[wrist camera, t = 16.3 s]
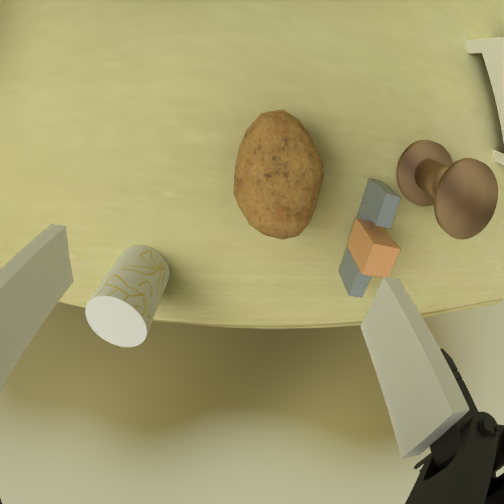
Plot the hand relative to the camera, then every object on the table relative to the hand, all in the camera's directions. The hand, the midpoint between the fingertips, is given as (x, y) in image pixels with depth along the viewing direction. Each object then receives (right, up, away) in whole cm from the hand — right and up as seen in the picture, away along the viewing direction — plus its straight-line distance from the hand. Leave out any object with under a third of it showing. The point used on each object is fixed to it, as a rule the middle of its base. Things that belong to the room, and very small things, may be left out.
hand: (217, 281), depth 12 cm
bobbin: (+25, +12, +24) cm, 36 cm away
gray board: (+16, +4, +28) cm, 32 cm away
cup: (-15, -1, +32) cm, 35 cm away
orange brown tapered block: (+16, +3, +27) cm, 31 cm away
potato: (+4, +12, +24) cm, 27 cm away
